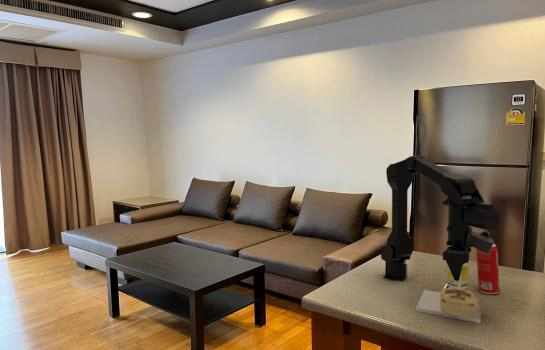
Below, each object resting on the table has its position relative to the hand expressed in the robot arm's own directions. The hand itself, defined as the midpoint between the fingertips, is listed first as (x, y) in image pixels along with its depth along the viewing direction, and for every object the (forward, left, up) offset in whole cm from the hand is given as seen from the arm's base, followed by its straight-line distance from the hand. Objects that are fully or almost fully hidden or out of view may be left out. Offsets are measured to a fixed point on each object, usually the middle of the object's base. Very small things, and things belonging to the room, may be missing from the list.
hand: (457, 277), depth 110 cm
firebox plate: (-2, 0, -9) cm, 9 cm away
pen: (-4, +20, -10) cm, 22 cm away
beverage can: (+7, +17, -9) cm, 21 cm away
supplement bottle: (0, 0, -3) cm, 3 cm away
